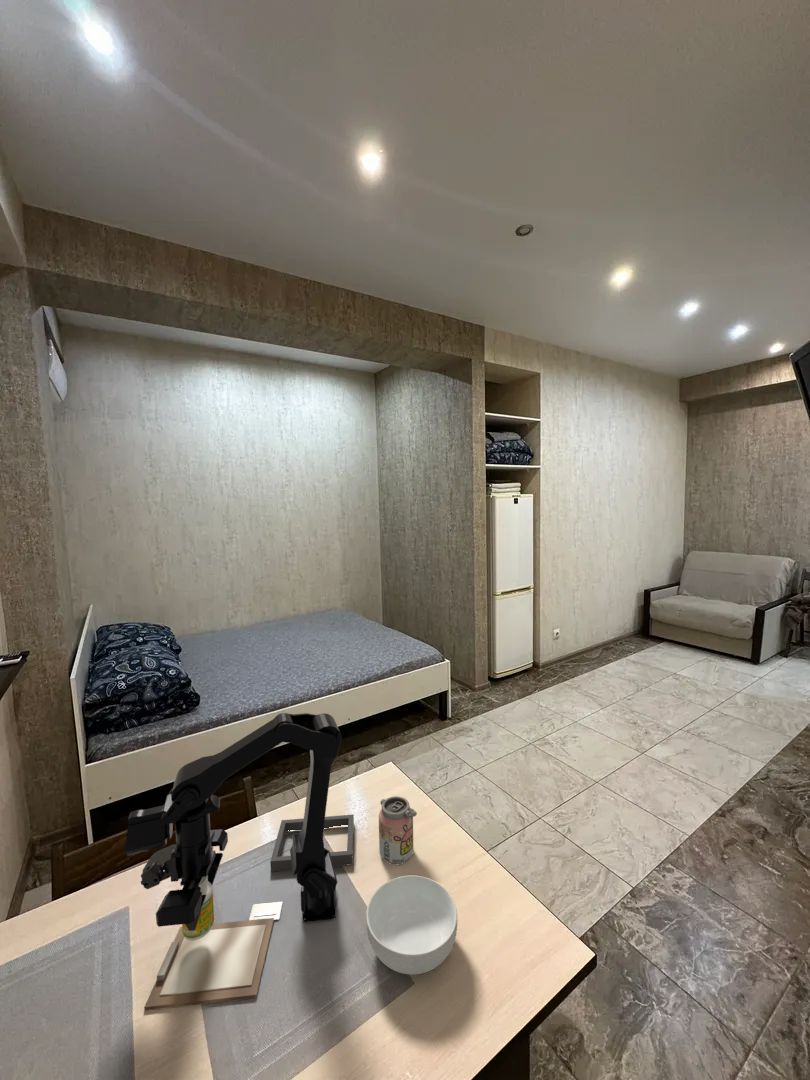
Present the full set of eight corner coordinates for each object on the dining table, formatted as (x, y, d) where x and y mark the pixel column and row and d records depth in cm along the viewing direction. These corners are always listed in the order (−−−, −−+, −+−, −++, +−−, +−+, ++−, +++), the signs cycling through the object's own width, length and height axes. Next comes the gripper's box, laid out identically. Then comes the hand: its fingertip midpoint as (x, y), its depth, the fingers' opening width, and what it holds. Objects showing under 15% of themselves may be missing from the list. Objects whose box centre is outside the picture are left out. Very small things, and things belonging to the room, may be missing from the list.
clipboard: (273, 920, 87) (273, 913, 87) (256, 997, 73) (256, 988, 73) (180, 929, 86) (179, 922, 86) (144, 1010, 72) (143, 1001, 72)
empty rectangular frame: (353, 823, 114) (353, 814, 114) (352, 864, 101) (351, 854, 101) (282, 829, 113) (281, 820, 113) (270, 871, 99) (270, 861, 99)
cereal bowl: (465, 919, 87) (465, 886, 86) (445, 1010, 71) (445, 969, 71) (386, 896, 92) (385, 864, 92) (351, 975, 77) (350, 937, 76)
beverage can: (395, 832, 111) (394, 787, 110) (423, 847, 106) (422, 799, 105) (371, 856, 103) (370, 807, 103) (400, 873, 98) (399, 822, 98)
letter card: (282, 902, 91) (282, 901, 91) (279, 920, 88) (278, 918, 87) (253, 905, 91) (253, 903, 91) (248, 923, 87) (248, 921, 87)
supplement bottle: (202, 944, 79) (199, 893, 78) (175, 939, 80) (172, 888, 79) (220, 917, 84) (217, 869, 84) (195, 912, 85) (192, 865, 85)
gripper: (170, 805, 89) (175, 878, 91) (119, 882, 71) (126, 972, 72) (226, 801, 90) (230, 872, 91) (190, 875, 72) (196, 964, 73)
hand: (198, 915), depth 82 cm, fingers closed on supplement bottle, 5 cm apart
